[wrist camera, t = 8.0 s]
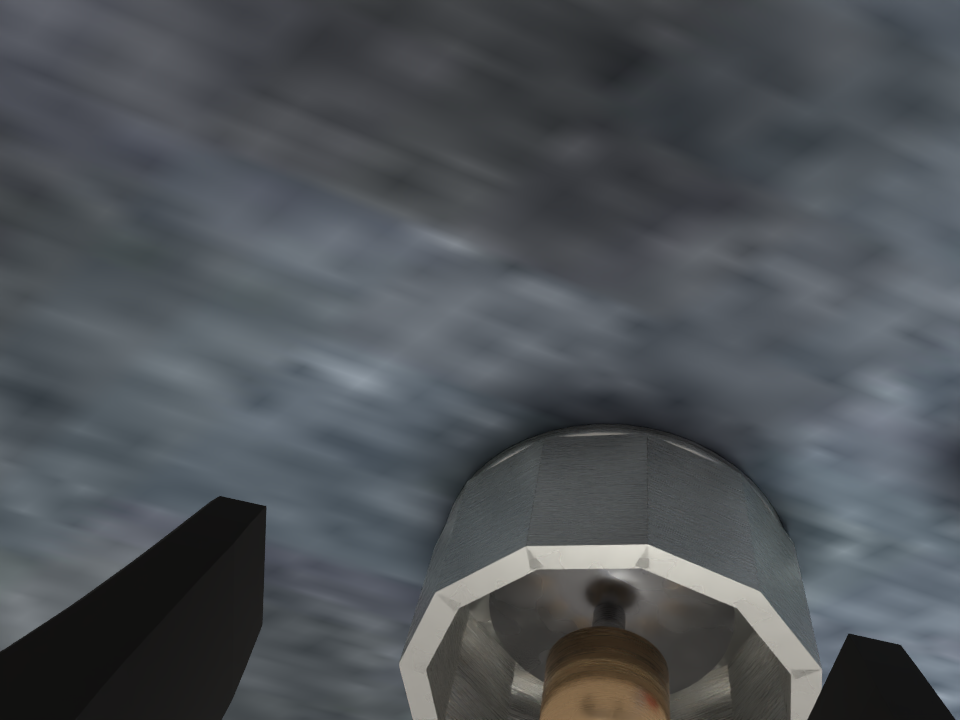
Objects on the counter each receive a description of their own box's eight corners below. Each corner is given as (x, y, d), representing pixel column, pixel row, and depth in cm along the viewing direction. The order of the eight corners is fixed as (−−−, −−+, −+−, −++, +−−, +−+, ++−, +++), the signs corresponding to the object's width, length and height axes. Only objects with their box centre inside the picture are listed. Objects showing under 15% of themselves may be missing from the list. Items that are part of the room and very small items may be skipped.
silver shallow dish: (862, 514, 22) (910, 654, 18) (651, 776, 27) (652, 927, 24) (520, 367, 22) (492, 479, 18) (375, 664, 27) (330, 798, 23)
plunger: (780, 563, 22) (810, 721, 18) (663, 714, 25) (666, 878, 21) (548, 465, 21) (527, 603, 17) (458, 630, 24) (423, 780, 20)
